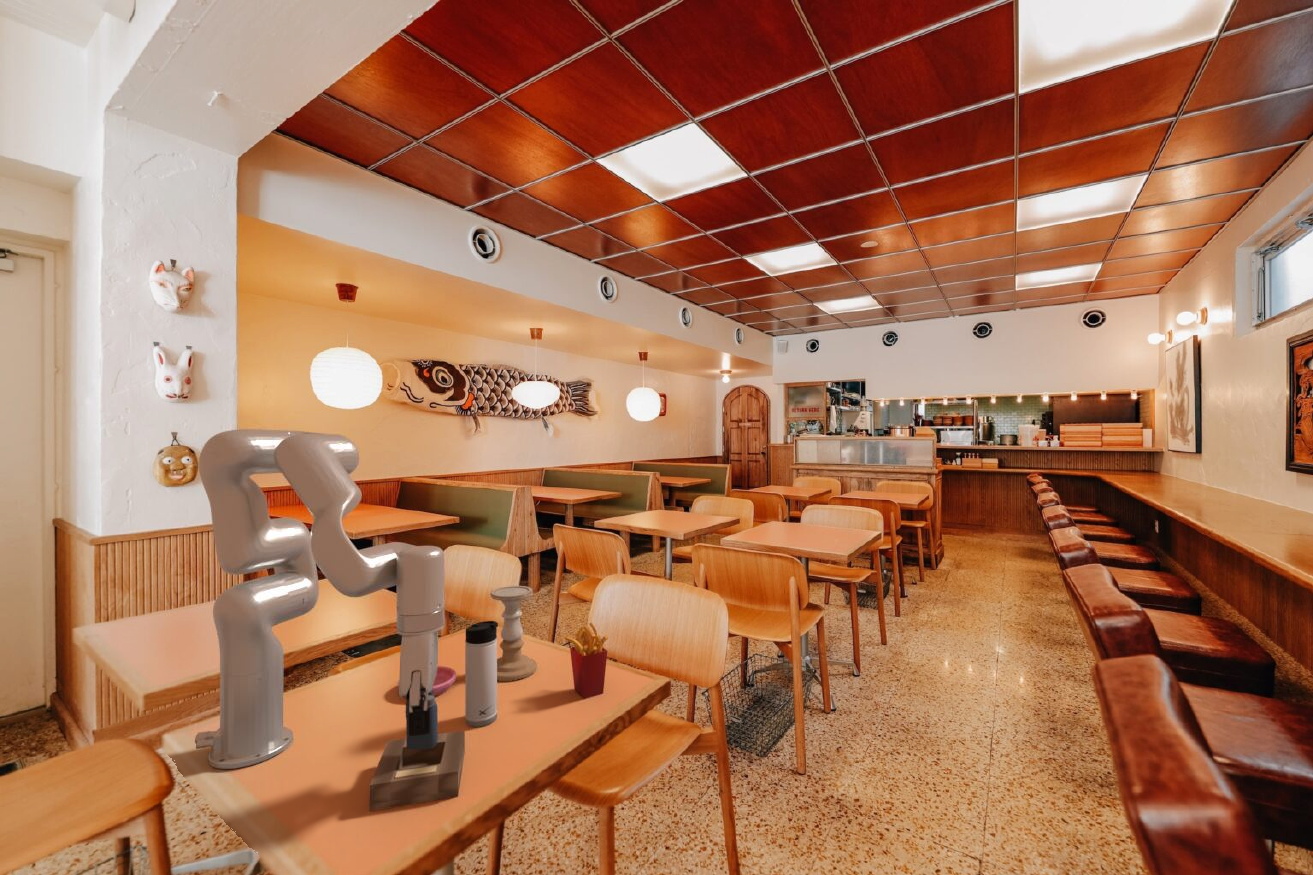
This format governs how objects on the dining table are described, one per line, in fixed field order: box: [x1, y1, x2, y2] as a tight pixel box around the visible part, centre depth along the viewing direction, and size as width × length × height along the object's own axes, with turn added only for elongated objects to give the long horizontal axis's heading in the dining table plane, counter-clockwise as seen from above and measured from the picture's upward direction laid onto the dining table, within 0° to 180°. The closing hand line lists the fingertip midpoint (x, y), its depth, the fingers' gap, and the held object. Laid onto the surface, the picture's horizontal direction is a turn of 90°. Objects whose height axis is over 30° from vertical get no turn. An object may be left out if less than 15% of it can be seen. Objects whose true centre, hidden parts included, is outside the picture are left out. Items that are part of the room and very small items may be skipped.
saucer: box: [397, 665, 457, 697], centre depth 125 cm, size 12×12×3 cm
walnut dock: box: [368, 729, 466, 812], centre depth 92 cm, size 13×13×4 cm
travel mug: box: [464, 620, 499, 728], centre depth 111 cm, size 6×7×20 cm
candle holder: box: [489, 585, 538, 682], centre depth 135 cm, size 12×12×20 cm
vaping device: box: [405, 687, 439, 749], centre depth 92 cm, size 3×5×12 cm, turn 88°
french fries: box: [565, 622, 609, 700], centre depth 124 cm, size 9×8×15 cm
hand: (421, 726), depth 92 cm, fingers closed on vaping device, 3 cm apart
